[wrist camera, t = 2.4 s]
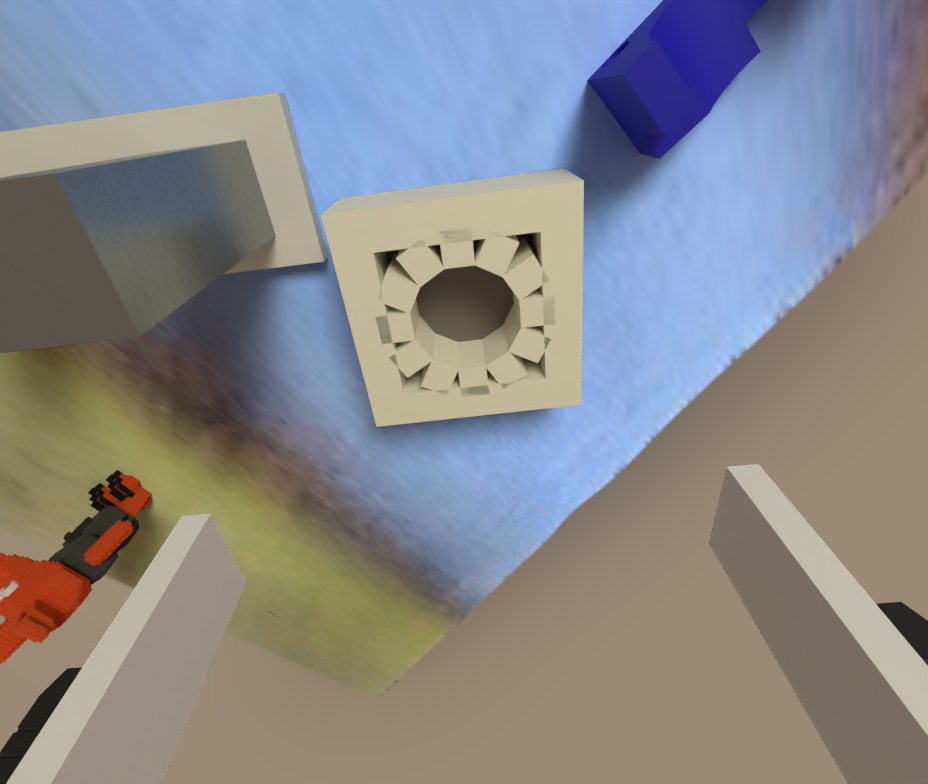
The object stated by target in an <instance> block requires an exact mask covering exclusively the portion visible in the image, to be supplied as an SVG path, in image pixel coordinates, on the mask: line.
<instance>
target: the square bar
mask: <svg viewBox="0 0 928 784" xmlns="http://www.w3.org/2000/svg"><path fill="white" fill-rule="evenodd" d="M274 236H276V235H275V231H274V228H273V225H272V222H271V219H270V216H269V212H268V209H267V206H266V203H265V200H264V197H263V194H262V190H261V187H260V184H259V181H258V178H257V175H256V171H255V168H254V165H253V162H252V159H251V156H250V152H249V149H248V146H247V143H246V140H239V141H232V142H225V143H217V144H210V145H203V146H196V147H189V148H181V149H174V150H167V151H160V152H153V153H147V154H141V155H135V156H129V157H123V158H117V159H111V160H105V161H98V162H92V163H86V164H80V165H74V166H68V167H62V168H56V169H50V170H44V171H38V172H32V173H26V174H20V175H14V176H8V177H2V178H0V353H6V352H15V351H23V350H31V349H40V348H48V347H56V346H65V345H73V344H81V343H90V342H98V341H106V340H115V339H123V338H131V337H140V336H141V335H142V334H144V333H145V332H146V331H148V330H149V329H150V328H152V327H153V326H154V325H156V324H157V323H159V322H160V321H161V320H163V319H164V318H165V317H167V316H168V315H169V314H171V313H172V312H173V311H175V310H176V309H177V308H179V307H180V306H181V305H183V304H184V303H185V302H187V301H188V300H189V299H191V298H192V297H194V296H195V295H196V294H198V293H199V292H200V291H202V290H203V289H204V288H206V287H207V286H208V285H210V284H211V283H212V282H214V281H215V280H216V279H218V278H219V277H220V276H222V275H223V274H224V273H226V272H227V271H229V270H230V269H231V268H233V267H234V266H235V265H237V264H238V263H239V262H241V261H242V260H243V259H245V258H246V257H247V256H249V255H250V254H251V253H253V252H254V251H255V250H257V249H258V248H259V247H261V246H262V245H263V244H265V243H266V242H268V241H269V240H270V239H272V238H273V237H274Z"/></svg>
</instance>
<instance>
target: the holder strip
mask: <svg viewBox="0 0 928 784" xmlns="http://www.w3.org/2000/svg"><path fill="white" fill-rule="evenodd" d="M239 140H246V143H247V146H248V149H249V152H250V156H251V159H252V162H253V165H254V168H255V171H256V175H257V178H258V181H259V184H260V187H261V190H262V194H263V197H264V200H265V203H266V206H267V209H268V212H269V216H270V219H271V222H272V225H273V228H274V231H275V235H276V236H274V237H273V238H272V239H270V240H269V241H268V242H266V243H265V244H263V245H262V246H261V247H259V248H258V249H257V250H255V251H254V252H253V253H251V254H250V255H249V256H247V257H246V258H245V259H243V260H242V261H241V262H239V263H238V264H237V265H235V266H234V267H233V268H231V269H230V270H229V271H227V272H226V273H224V274H229V273H237V272H245V271H253V270H261V269H269V268H277V267H285V266H293V265H301V264H309V263H317V262H324V261H325V260H326V259H327V258H328V254H327V250H326V246H325V242H324V239H323V235H322V231H321V227H320V224H319V220H318V216H317V212H316V209H315V205H314V201H313V197H312V193H311V190H310V186H309V182H308V178H307V175H306V171H305V167H304V163H303V160H302V156H301V152H300V148H299V145H298V141H297V137H296V133H295V130H294V126H293V122H292V118H291V115H290V111H289V107H288V103H287V100H286V96H285V93H272V94H265V95H258V96H251V97H244V98H237V99H230V100H223V101H216V102H209V103H202V104H195V105H188V106H181V107H174V108H167V109H160V110H153V111H146V112H139V113H132V114H125V115H118V116H111V117H104V118H97V119H90V120H83V121H76V122H69V123H62V124H55V125H48V126H41V127H34V128H27V129H20V130H13V131H6V132H0V178H2V177H8V176H14V175H20V174H26V173H32V172H38V171H44V170H50V169H56V168H62V167H68V166H74V165H80V164H86V163H92V162H98V161H105V160H111V159H117V158H123V157H129V156H135V155H141V154H147V153H153V152H160V151H167V150H174V149H181V148H189V147H196V146H203V145H210V144H217V143H225V142H232V141H239Z"/></svg>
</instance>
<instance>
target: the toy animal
mask: <svg viewBox="0 0 928 784" xmlns="http://www.w3.org/2000/svg"><path fill="white" fill-rule="evenodd" d="M106 481H108V482H109V483H110V484H109V485H108V486H107V487H108V488H109V489H108V488H106V487H105V486H103V485H102V484H100V483H99V484H98V485H97V486H96V487H95V488H92V489H91V490H90V491H89V492H88V493H89V494H90V495H92V497H91V498H90V499H89V500H91V501H93V503H92V504H91V506H92V507H93V508H95V509H96V510H98V511H99V512H98V514H97V515H95V516H94V517H93V518H92V519H91V518H90V517H87V518H86V519H85V520H84V521H83V522H82V523H81V524H80V525H79V526H78V527H77V528H76V529H75V530H74V531H73V532H72V533H70V532H68V533H67V534H66V535H65V536H64V540H66V541H65V542H64V543H63V546H64V548H63V549H61V550H60V551H58V552H57V553H55V554H54V555H53V556H52V557H51V558H50V559H49V560H48V561H45V560H42V561H41V562H39V561H36V562H35V561H34V560H32V559H30V558H28V557H26V558H25V557H23V556H22V557H19V556H17V555H15V554H14V555H13V556H10V555H8V556H6V555H5V554H3V553H0V615H2V616H4V617H6V618H5V619H6V620H5V621H4V622H3V623H2V624H1V625H0V664H1V663H3V662H4V661H6V659H7V658H8V657H10V655H11V654H12V653H14V651H15V650H16V649H18V648H19V647H20V645H22V644H23V643H24V641H26V640H27V639H29V640H31V641H34V642H37V641H38V642H40V643H41V642H43V640H44V639H45V638H47V637H48V635H49V633H50V632H52V631H53V630H55V629H56V628H58V627H60V626H61V625H62V624H63V623H64V622H65V621H66V620H67V619H68V618H69V617H70V616H71V615H72V613H73V612H74V611H76V609H77V608H78V607H79V605H81V604H82V602H83V601H84V599H85V598H86V597H87V596H88V594H89V593H90V592H91V590H92V589H91V584H93V583H95V582H96V581H98V580H99V579H101V578H102V577H103V576H104V575H105V574H106V573H107V571H108V570H109V569H110V567H111V566H112V564H113V563H114V562H115V560H116V559H117V558H118V555H117V551H119V550H120V549H122V548H124V547H125V546H126V545H127V544H128V543H129V541H130V540H131V539H132V537H133V536H134V535H135V533H136V532H137V531H138V529H139V528H140V527H139V523H138V520H136V519H135V518H133V517H134V516H135V515H136V513H137V512H138V511H139V510H140V509H145V508H146V507H147V506H148V504H149V503H150V502H151V500H152V498H150V495H151V493H149V492H148V491H146V490H145V489H144V488H142V487H141V486H140V483H139V482H140V481H138V480H137V479H136V478H134V477H133V476H125V475H124V474H122V473H121V472H120V471H118V470H117V471H116V472H115V473H114V474H113V475H110V476H109V477H108V478H107V479H106Z"/></svg>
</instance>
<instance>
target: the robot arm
mask: <svg viewBox="0 0 928 784" xmlns="http://www.w3.org/2000/svg"><path fill="white" fill-rule="evenodd" d="M709 544H710V546H711V548H712V549H713V551H714V553H715V555H716V556H717V558H718V560H719V562H720V563H721V565H722V567H723V569H724V570H725V572H726V574H727V575H728V577H729V579H730V581H731V582H732V584H733V586H734V588H735V589H736V591H737V593H738V594H739V596H740V598H741V600H742V601H743V603H744V605H745V607H746V608H747V610H748V612H749V614H750V615H751V617H752V619H753V620H754V622H755V624H756V625H757V627H758V629H759V631H760V633H761V634H762V636H763V637H764V639H765V641H766V643H767V645H768V646H769V648H770V650H771V652H772V653H773V655H774V657H775V659H776V660H777V662H778V664H779V665H780V667H781V669H782V671H783V672H784V674H785V676H786V678H787V679H788V681H789V683H790V685H791V686H792V688H793V690H794V691H795V693H796V695H797V697H798V698H799V700H800V702H801V703H802V705H803V707H804V709H805V711H806V712H807V714H808V716H809V718H810V719H811V721H812V722H813V724H814V726H815V728H816V730H817V731H818V733H819V735H820V736H821V738H822V740H823V742H824V743H825V745H826V747H827V749H828V750H829V752H830V754H831V756H832V757H833V759H834V761H835V762H836V764H837V766H838V768H839V769H840V771H841V773H842V774H843V776H844V778H845V780H846V782H847V783H848V784H928V621H927V620H926V619H924V618H923V617H922V616H920V615H919V614H917V613H916V612H915V611H913V610H912V609H910V608H909V607H907V606H906V605H905V604H903V603H902V602H894V603H882V604H876V603H875V602H874V601H873V600H872V599H871V598H870V597H869V595H868V594H867V593H866V592H865V590H864V589H863V588H862V587H861V586H860V585H859V583H858V582H857V581H856V580H855V578H854V577H853V576H852V575H851V574H850V573H849V571H848V570H847V569H846V568H845V567H844V565H843V564H842V563H841V562H840V561H839V559H838V558H837V557H836V556H835V555H834V554H833V552H832V551H831V550H830V549H829V548H828V547H827V545H826V544H825V543H824V542H823V540H822V539H821V538H820V537H819V536H818V534H817V533H816V532H815V531H814V530H813V528H812V527H811V526H810V525H809V524H808V523H807V521H806V520H805V519H804V518H803V517H802V515H801V514H800V513H799V512H798V511H797V509H796V508H795V507H794V506H793V505H792V504H791V502H790V501H789V500H788V499H787V498H786V496H785V495H784V494H783V493H782V492H781V490H780V489H779V488H778V487H777V486H776V484H775V483H774V482H773V481H772V480H771V479H770V477H769V476H768V475H767V474H766V473H765V471H764V470H763V469H762V468H761V467H760V466H759V464H755V465H743V466H733V467H727V469H726V473H725V478H724V481H723V485H722V490H721V494H720V499H719V503H718V507H717V511H716V515H715V519H714V524H713V528H712V532H711V537H710V541H709ZM246 583H247V582H246V580H245V578H244V576H243V574H242V572H241V570H240V568H239V566H238V565H237V563H236V561H235V559H234V557H233V555H232V553H231V551H230V549H229V548H228V546H227V544H226V542H225V540H224V538H223V536H222V534H221V532H220V531H219V529H218V527H217V525H216V523H215V521H214V519H213V517H212V515H211V514H202V515H191V516H182V517H181V518H180V520H179V521H178V523H177V524H176V526H175V527H174V529H173V530H172V532H171V533H170V535H169V537H168V538H167V540H166V541H165V543H164V544H163V546H162V547H161V549H160V550H159V552H158V553H157V555H156V556H155V558H154V559H153V561H152V562H151V564H150V565H149V567H148V568H147V570H146V572H145V573H144V575H143V576H142V578H141V579H140V581H139V582H138V584H137V585H136V587H135V588H134V590H133V591H132V593H131V594H130V596H129V597H128V599H127V600H126V602H125V603H124V605H123V606H122V608H121V610H120V611H119V613H118V614H117V616H116V617H115V619H114V620H113V622H112V623H111V625H110V626H109V628H108V629H107V631H106V632H105V634H104V635H103V637H102V639H101V640H100V642H99V643H98V645H97V646H96V648H95V649H94V651H93V652H92V654H91V655H90V657H89V658H88V660H87V661H86V663H85V665H84V666H83V667H82V668H69V669H67V670H66V671H65V672H64V673H62V675H60V677H58V678H57V679H56V680H55V681H54V682H53V683H52V684H51V685H50V686H49V687H48V688H47V689H46V690H45V691H44V692H43V693H42V694H41V695H40V696H39V698H38V699H37V700H36V702H35V703H34V705H33V706H32V707H31V709H30V710H29V712H28V713H27V715H26V716H25V718H24V719H23V720H22V722H21V723H20V725H19V726H18V731H17V732H16V733H13V735H12V736H11V738H10V739H9V740H8V742H7V743H6V744H5V746H4V748H3V749H2V750H1V752H0V784H160V782H161V780H162V778H163V775H164V773H165V771H166V768H167V766H168V764H169V761H170V759H171V757H172V755H173V752H174V750H175V747H176V745H177V743H178V741H179V738H180V736H181V734H182V731H183V729H184V727H185V724H186V722H187V720H188V717H189V715H190V713H191V711H192V708H193V706H194V704H195V701H196V699H197V697H198V694H199V692H200V690H201V687H202V685H203V683H204V680H205V678H206V676H207V673H208V671H209V669H210V667H211V664H212V662H213V659H214V657H215V655H216V653H217V650H218V648H219V646H220V643H221V641H222V639H223V636H224V634H225V632H226V629H227V627H228V625H229V623H230V620H231V618H232V616H233V613H234V611H235V609H236V606H237V604H238V602H239V599H240V597H241V595H242V592H243V590H244V588H245V585H246Z"/></svg>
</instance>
